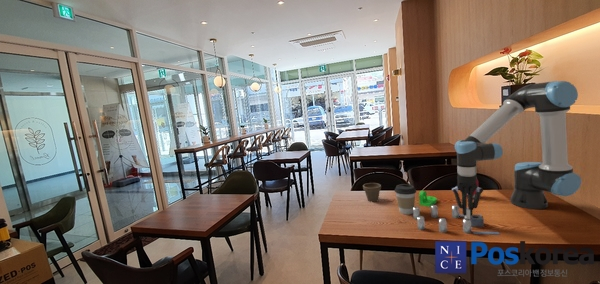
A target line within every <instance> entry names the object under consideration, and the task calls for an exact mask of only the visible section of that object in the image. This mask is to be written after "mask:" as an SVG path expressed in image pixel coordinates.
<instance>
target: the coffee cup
mask: <svg viewBox="0 0 600 284" xmlns="http://www.w3.org/2000/svg"><path fill="white" fill-rule="evenodd" d="M394 192H395V195H396V200H397V204H398V210H399V213H400V214H402V215H413V207H415V202H416V193H417V189H416V188H415V186H414V185H412V184H407V183H401V184H397V185H396V186H395V188H394Z"/></svg>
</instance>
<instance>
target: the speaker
mask: <svg viewBox="0 0 600 284" xmlns="http://www.w3.org/2000/svg"><path fill="white" fill-rule="evenodd" d="M480 215H481V214H472V216H470V220H471V228H484V227H485V226H484V224H485V223H484V218H483V216H482V217H481V216H480Z"/></svg>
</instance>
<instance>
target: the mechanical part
mask: <svg viewBox="0 0 600 284" xmlns="http://www.w3.org/2000/svg"><path fill="white" fill-rule="evenodd" d="M418 194H419V195H418V196H419V197H418V201H419V206H424V207H428V208H431V205H436V203H437V202H438V199H437V197H435V196H430V195H428V193H427V192H426V191H424V190H420V191H419V193H418Z"/></svg>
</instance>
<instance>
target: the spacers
mask: <svg viewBox="0 0 600 284" xmlns="http://www.w3.org/2000/svg"><path fill="white" fill-rule="evenodd" d="M438 211H439V210H438V205H436V204H434V205H431V207H430V217H431V218H433V219H438V231H439V233H441V234H447V232H448V228H447V227H448V224H447V219H446V218H443V217H440V218H439V217H438V216H439V213H438ZM420 212H421V210H420V207H419V206H417V205H416V206H415V205H414V207H413V214H412V216H413V218H412V219H414V220H417V221H416V223H417V230H419V231H425V230H426V227H425V226H426V223H425V221H426V220H425V216H422V215H421V213H420ZM459 215H460V207H459V206H458V204H452V205H451V217H452V218H453V219H457V218H458V219H460V217H459ZM462 232H463V233H464V234H469V235H470V234H472V227H471V220H470V219H467V218H465V217H463V219H462Z"/></svg>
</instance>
